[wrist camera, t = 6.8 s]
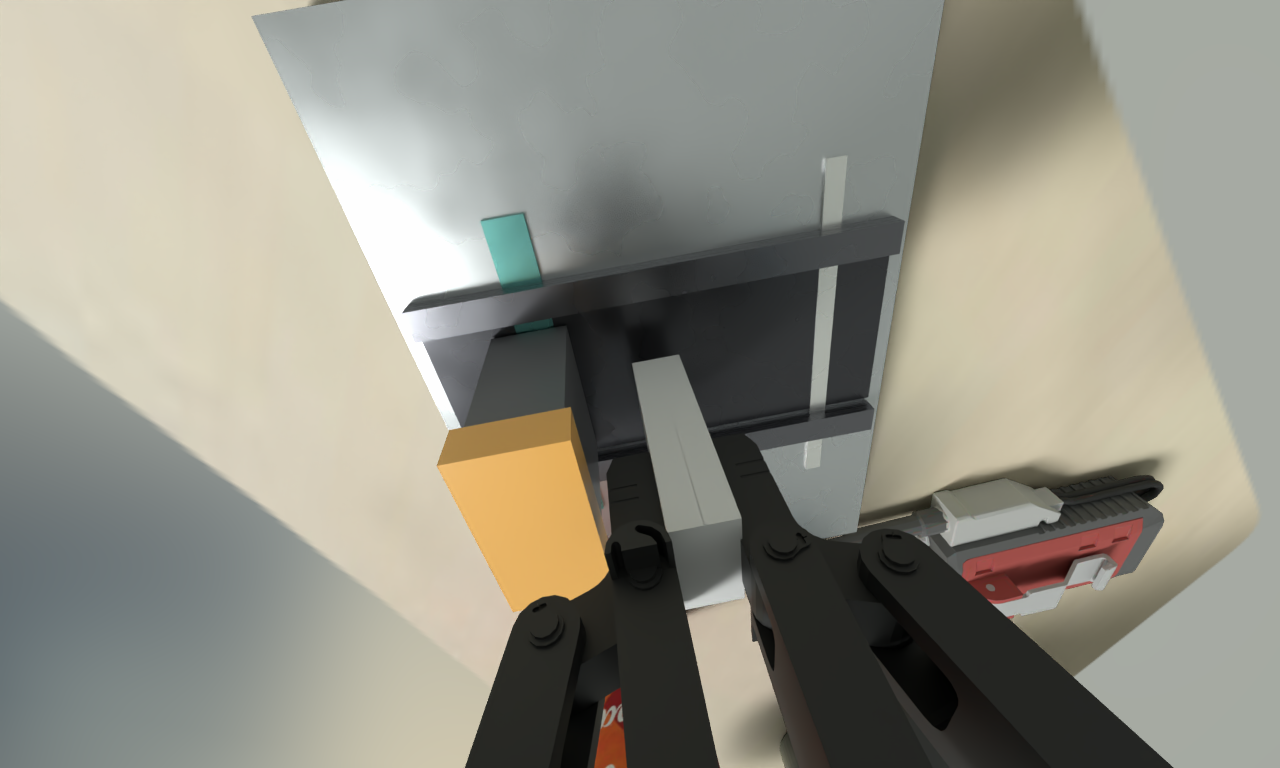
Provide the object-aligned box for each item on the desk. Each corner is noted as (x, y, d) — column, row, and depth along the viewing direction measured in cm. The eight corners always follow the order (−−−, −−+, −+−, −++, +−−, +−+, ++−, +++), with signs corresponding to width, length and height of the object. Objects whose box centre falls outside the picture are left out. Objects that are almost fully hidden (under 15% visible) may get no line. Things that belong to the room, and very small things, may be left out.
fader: (603, 447, 18) (615, 591, 13) (529, 461, 18) (513, 611, 13) (571, 318, 15) (570, 440, 10) (482, 334, 15) (436, 466, 10)
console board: (837, 500, 24) (863, 542, 22) (530, 560, 24) (527, 608, 22) (908, -80, 12) (981, -114, 10) (295, 24, 12) (234, 13, 10)
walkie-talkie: (1150, 433, 25) (783, 521, 26) (1249, 493, 22) (819, 596, 22) (1096, 537, 30) (788, 610, 30) (1170, 601, 26) (818, 684, 27)
